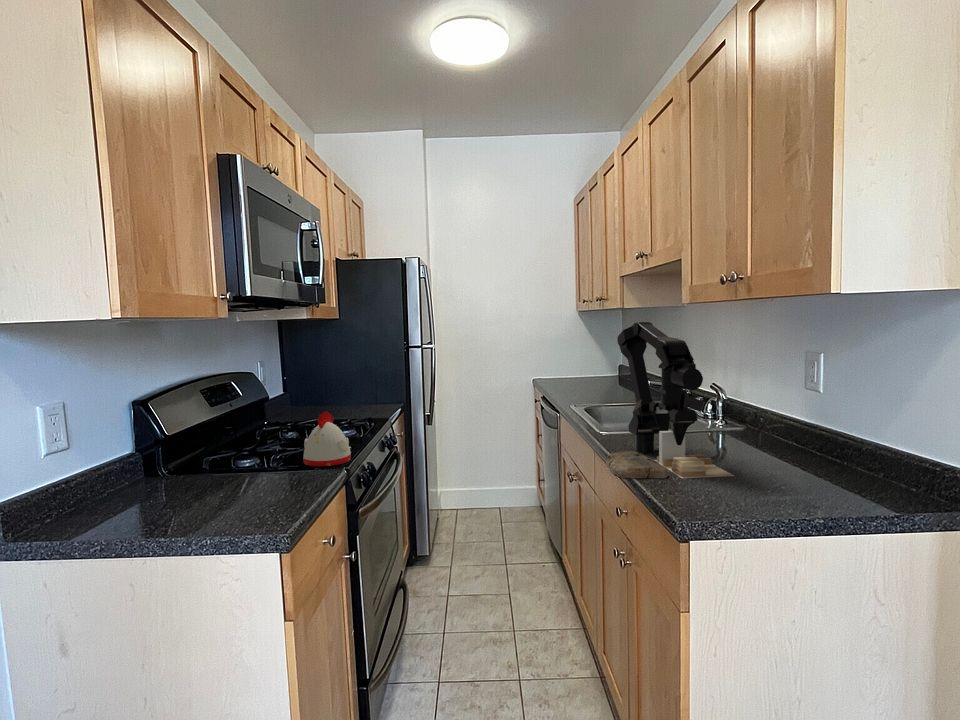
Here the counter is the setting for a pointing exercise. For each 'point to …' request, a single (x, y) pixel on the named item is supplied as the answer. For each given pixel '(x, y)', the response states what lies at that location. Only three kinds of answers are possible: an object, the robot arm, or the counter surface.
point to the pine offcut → (688, 461)
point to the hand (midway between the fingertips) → (671, 441)
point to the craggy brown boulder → (634, 465)
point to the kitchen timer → (326, 444)
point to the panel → (669, 446)
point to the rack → (709, 467)
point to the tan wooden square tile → (689, 473)
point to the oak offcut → (688, 468)
